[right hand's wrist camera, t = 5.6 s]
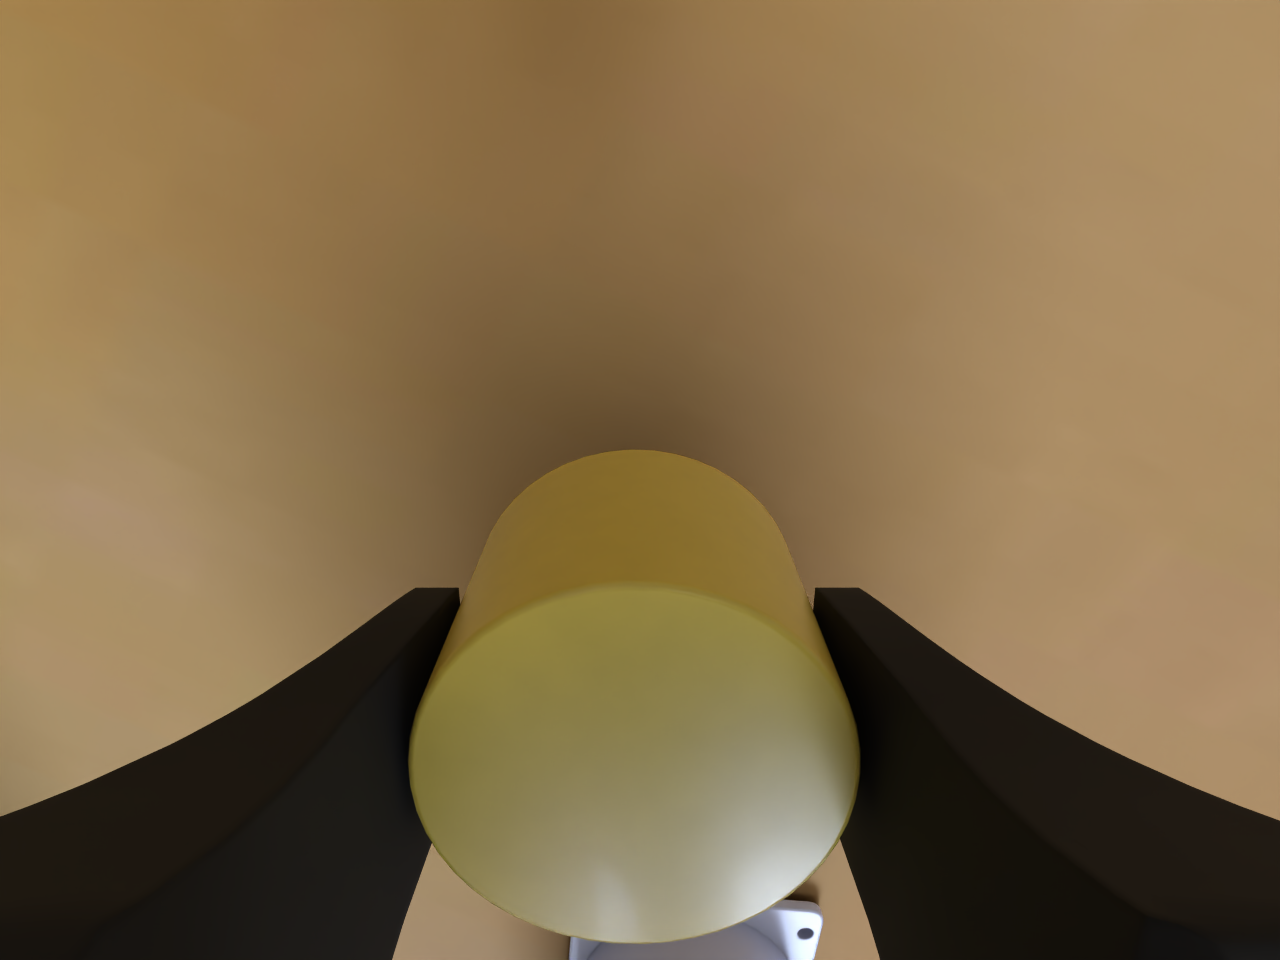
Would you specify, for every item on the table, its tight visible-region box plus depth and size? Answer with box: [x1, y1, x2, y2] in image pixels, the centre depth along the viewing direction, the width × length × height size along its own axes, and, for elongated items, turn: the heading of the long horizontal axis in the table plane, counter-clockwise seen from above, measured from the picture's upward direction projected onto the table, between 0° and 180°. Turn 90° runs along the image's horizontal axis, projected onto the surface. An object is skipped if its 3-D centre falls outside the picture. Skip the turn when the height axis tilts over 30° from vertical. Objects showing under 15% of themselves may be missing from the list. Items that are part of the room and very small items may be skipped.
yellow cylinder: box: [408, 450, 861, 944], centre depth 11 cm, size 5×5×4 cm
